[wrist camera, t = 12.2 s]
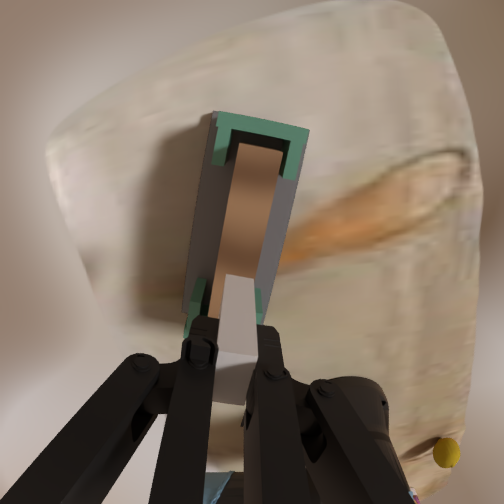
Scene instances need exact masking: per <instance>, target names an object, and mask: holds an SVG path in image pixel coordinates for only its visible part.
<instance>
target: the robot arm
mask: <svg viewBox="0 0 504 504" xmlns="http://www.w3.org/2000/svg"><path fill="white" fill-rule="evenodd" d="M212 401H214V402H220V403H227V404H235V405H243V406H244V405H245V401H246V409H245V413H244V416H243V419H242V423H241V427H243V426H244V472H235V471H229V472H206V461H207V449H208V439H209V428H210V418H211V407H212ZM158 414H167V418H166V422H165V427H164V432H163V436H162V441H161V445H160V450H159V454H158V459H157V464H156V468H155V473H154V478H153V483H152V488H151V493H150V498H149V503H148V504H416V503H415V502H414V499H413V492H412V491H411V490H410V488H409V485H408V483H407V480H406V477H405V475H404V472H403V470H402V467H401V465H400V462H399V460H398V457H397V455H396V452H395V450H394V447H393V445H392V443H391V440H390V438H389V406H388V401H387V398H386V396H385V394H384V392H383V390H382V388H381V387H380V386H379V385H378V384H377V383H376V382H374V381H372V380H370V379H367V378H363V377H342V378H337V379H332V380H326V379H318V380H315V381H313V382H312V383H311V384H310V385H307V384H304V383H301V382H298V381H296V380H294V379H292V378H291V375H290V373H289V371H288V370H287V369H286V368H285V367H284V362H283V356H282V349H281V343H280V337H279V333H278V332H277V330H276V329H275V328H274V327H272V326H265V325H259V324H256V309H255V292H254V279H252V278H246V277H240V276H235V275H229V274H226V277H225V283H224V288H223V293H222V299H221V304H220V310H219V316H218V319H217V318H212V317H206V316H200V315H198V316H197V317H195V318H194V319H193V320H192V323H191V327H190V331H189V335H188V337H187V338H185V339H184V341H183V342H182V350H181V358H180V359H179V360H178V361H176V362H173V363H166V364H159V362H158V361H157V360H156V358H154V357H152V356H151V355H148V354H144V353H136V354H133V355H130V356H129V357H127V358H126V359H125V360H124V361H123V362H122V363H121V364H120V365H119V366H118V368H117V369H116V370H115V371H114V372H113V373H112V374H111V375H110V376H109V377H108V379H107V380H106V381H105V382H104V383H103V384H102V385H101V386H100V387H99V388H98V390H97V391H96V392H95V393H94V394H93V395H92V396H91V397H90V398H89V399H88V401H87V402H86V403H85V404H84V405H83V406H82V407H81V408H80V409H79V411H78V412H77V413H76V414H75V415H74V416H73V417H72V418H71V419H70V421H69V422H68V423H67V424H66V425H65V426H64V427H63V429H62V430H61V431H60V432H59V433H58V434H57V435H56V436H55V438H54V439H53V440H52V441H51V442H50V443H49V444H48V446H47V447H46V448H45V449H44V450H43V451H42V452H41V453H40V455H39V456H38V457H37V458H36V459H35V460H34V461H33V463H32V464H31V465H30V466H29V467H28V468H27V470H26V471H25V472H24V473H23V474H22V475H21V476H20V478H19V479H18V480H17V481H16V482H15V483H14V485H13V486H12V487H11V488H10V489H9V490H8V492H7V493H6V494H5V495H4V496H3V498H2V499H1V500H0V504H101V503H102V502H103V500H104V499H105V497H106V496H107V494H108V492H109V491H110V489H111V488H112V486H113V485H114V483H115V482H116V480H117V479H118V477H119V476H120V474H121V472H122V471H123V469H124V467H125V466H126V465H127V463H128V462H129V460H130V458H131V457H132V455H133V454H134V452H135V451H136V449H137V447H138V446H139V444H140V443H141V441H142V440H143V438H144V436H145V435H146V434H147V432H148V430H149V429H150V427H151V426H152V424H153V423H154V421H155V419H156V418H157V416H158Z"/></svg>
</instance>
